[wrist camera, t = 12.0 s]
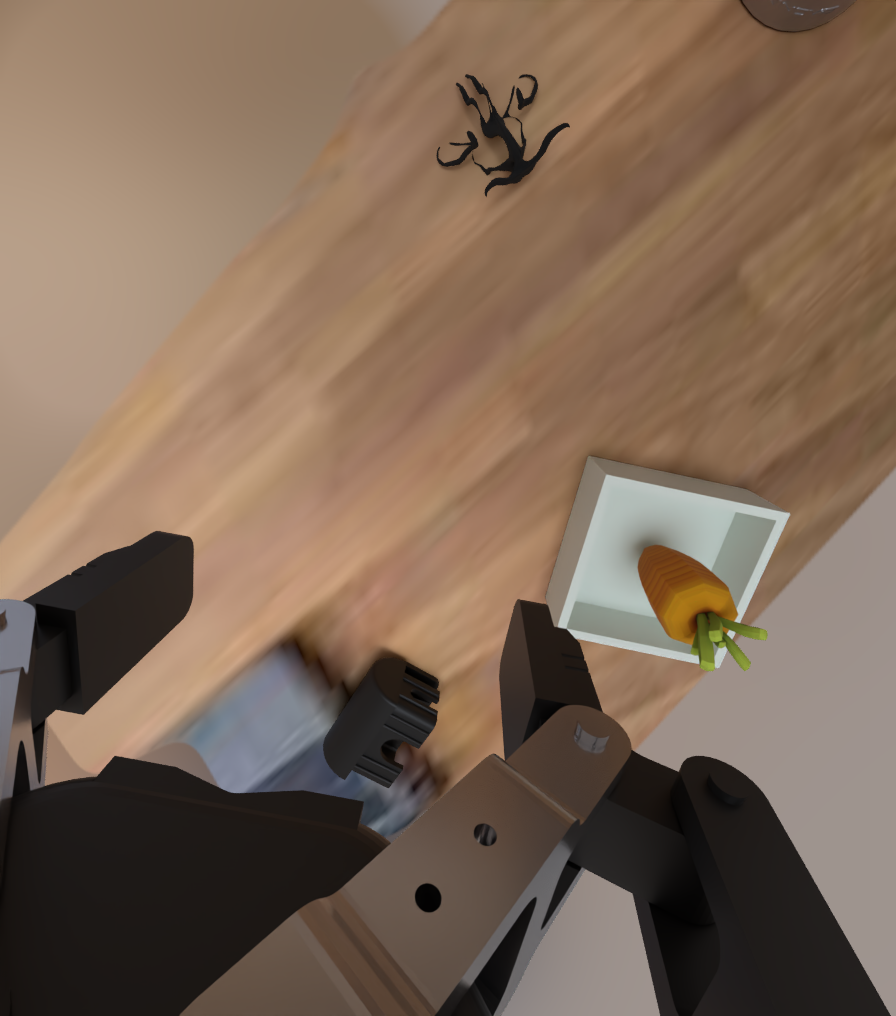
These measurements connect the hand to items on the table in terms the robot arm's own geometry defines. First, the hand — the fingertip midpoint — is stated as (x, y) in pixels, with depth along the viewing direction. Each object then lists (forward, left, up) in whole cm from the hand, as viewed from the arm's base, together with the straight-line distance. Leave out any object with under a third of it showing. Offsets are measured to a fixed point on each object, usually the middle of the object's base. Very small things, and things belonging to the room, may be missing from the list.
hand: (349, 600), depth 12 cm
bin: (+7, +19, -30) cm, 36 cm away
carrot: (+7, +20, -29) cm, 36 cm away
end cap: (+28, 0, -30) cm, 41 cm away
